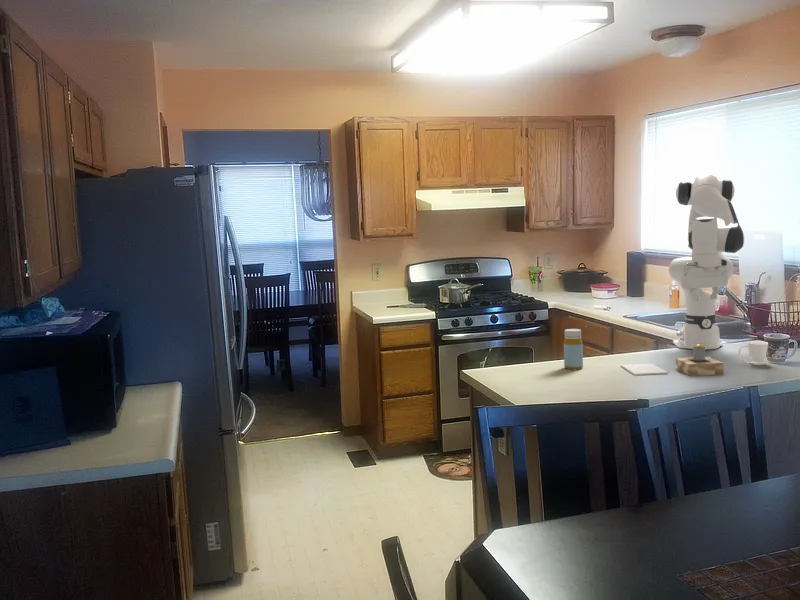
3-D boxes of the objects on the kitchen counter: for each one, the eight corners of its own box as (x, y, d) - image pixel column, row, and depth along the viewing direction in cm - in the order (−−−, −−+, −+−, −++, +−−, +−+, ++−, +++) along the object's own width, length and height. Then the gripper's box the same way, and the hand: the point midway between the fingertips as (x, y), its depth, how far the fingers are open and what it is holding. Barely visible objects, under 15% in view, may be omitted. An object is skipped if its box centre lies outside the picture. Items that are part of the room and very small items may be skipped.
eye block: (676, 368, 251) (676, 358, 250) (708, 367, 251) (708, 356, 250) (689, 375, 239) (689, 364, 238) (723, 374, 239) (723, 363, 238)
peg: (691, 370, 247) (691, 343, 246) (702, 370, 247) (702, 343, 246) (696, 372, 243) (695, 345, 242) (707, 372, 243) (707, 345, 242)
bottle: (581, 366, 264) (580, 328, 262) (584, 369, 257) (583, 331, 255) (563, 366, 264) (562, 328, 263) (565, 370, 258) (564, 331, 256)
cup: (770, 365, 248) (770, 344, 248) (740, 365, 251) (740, 344, 250) (765, 361, 255) (766, 340, 254) (736, 361, 258) (736, 340, 257)
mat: (621, 366, 259) (621, 365, 259) (652, 365, 259) (652, 363, 259) (634, 375, 243) (634, 373, 243) (668, 374, 243) (668, 372, 243)
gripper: (691, 263, 235) (691, 302, 236) (731, 261, 244) (731, 299, 245) (676, 262, 241) (676, 301, 242) (716, 261, 250) (716, 298, 251)
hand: (704, 300), depth 243 cm, fingers open, 8 cm apart
